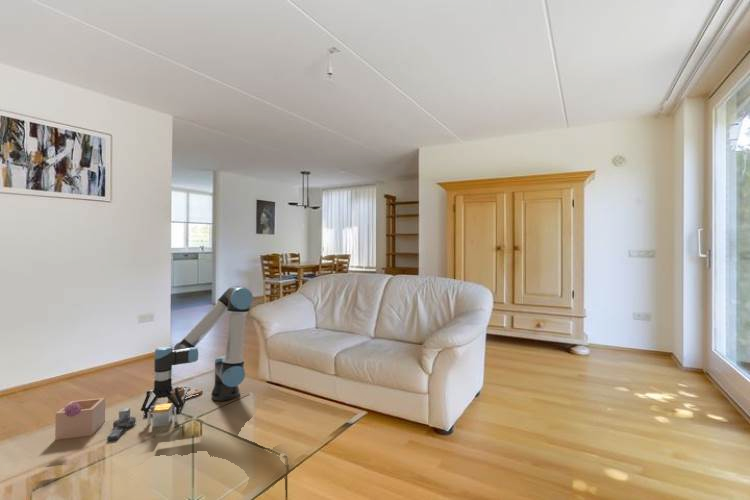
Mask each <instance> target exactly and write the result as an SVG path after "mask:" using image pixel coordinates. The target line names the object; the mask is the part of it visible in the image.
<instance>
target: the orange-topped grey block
mask: <svg viewBox="0 0 750 500" xmlns="http://www.w3.org/2000/svg"><path fill="white" fill-rule="evenodd" d="M172 404H173V403H170V402H168V403H160V404H156V405H155V406H156V407H155V408H154V410H153V414H152V428H156V427H165V426H169V425H170V424H171V422H172V420H173V412H172Z"/></svg>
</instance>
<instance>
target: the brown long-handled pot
mask: <svg viewBox="0 0 750 500" xmlns="http://www.w3.org/2000/svg"><path fill="white" fill-rule="evenodd" d="M178 387H179V393H180V395H181V397H182V395H184V394H185V393H184V391H185V390H184V387H185V386H178ZM194 389H195V391H196V392H194V393H191V394H187V395H186V396H185V398H186V397H188V396H190V395H196V394H201V393H202V394H203V388H194ZM171 394H172V396H173V397H174V398H175V400H176V401H177V402H178V400H177V397H176V395H175V392H174V391H171ZM202 394H201V395H202ZM167 402H168V403H172V402H171V401H170V400H169V399H168V398H167ZM172 404H173V403H172Z"/></svg>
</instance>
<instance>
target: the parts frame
mask: <svg viewBox="0 0 750 500" xmlns="http://www.w3.org/2000/svg"><path fill="white" fill-rule="evenodd" d="M176 387H177V386H176ZM176 387H174V388H176ZM183 387H184V388H186V390H184V393H185V394H184V395H182V397H181V398H182V400H183V402H185V401H184V399H185V396H186V394H187V392H188V390H189V388H190V389H191V385H188V386H183ZM189 391H190V390H189ZM155 396H156V395H155V394H154V393H153V394H152V397H151V398H149V400H148V402H147V405H146V407H145V408H147V407H148V406H149V404H150V403H151V401H152V400H153V399H154V397H155ZM157 399H159V398H158V397H157ZM157 399H156V400H155V402H154V403H153V404H152V406H151V407H150V409H149V410H151V413H153V410H154V408H155V407H156V405H154V404H155V403H156V401H157ZM178 403H179V402H178ZM174 409H175V406H174V405H173V403H172V413H174ZM180 409H182V408H181V407H180ZM180 409H179V410H180ZM180 411H181V410H180ZM144 414H145V411H143V415H144Z"/></svg>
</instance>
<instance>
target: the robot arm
mask: <svg viewBox="0 0 750 500" xmlns="http://www.w3.org/2000/svg"><path fill="white" fill-rule="evenodd" d="M253 302H254V296H253V293H252V291H250V290H249V289H248V288H246V287H244V286H240V285H234V286H233V285H232V286H230V287H229V288H228V289H226V291H224V292H223V293H222V295H221V296H220V297H219V298H218V299H217V301H216V304H215V305H214V306H213V307H212V308H211V309H210V310H209V311H208V312H207V314H205V315H204V317H202V318H201V319H200V320H199V322H198V323H197V324H196V325H195V326H194V327H193V328H192V329H191V330H190V332H188V333H187V334H186V336H184V338H183V339H182V340H181V341H179V342H177V343H176V344H174V347H173V346H172V347H173V348H172V347H171V346H160V347H157V348H156V349H155V350H154V358H153V359H154V363H153V365H154V366H153V367H154V369H153V370H154V375H153V378H154V381H153V382H154V383H153V389H148V390H147V391H146V395H145V396H146V397H145V399H144V401H143V403H142V406H141V408H140V411H141V412H144V411H145V415H144V418H145V419H147V424H146V426H150V425H149V424H151V421H152V419H151V418H152V415H151V410H149V409H150V407H151V406H152V404H153V403H154V402H155V403H156V401H157V400H156V399H162V398H167V400H168V399H169V400H170V401H171V402H172V404H173V405H174V406H175V409H174V412H173V415H174V416H173V417H174V418H173V422H174V423H176V422H178V415H180V411H179V409H180V407H183V406H184V404H185V403H183V400H182V398H181V395H180V393H179V387H180V386H176V388H175V387H173V385H172V379H173V378H172V375H173V374H172V372H173V368H172V366H177V365H184V364H191V363H195V362H198V359H199V349H198V348H197V347H196V346H197V345H198V344H199V343H200V342H201V341H202V339H204V338H205V336H206V335H208V333H209V332H210V331H211V330H212V329H213V328H214V327H215V325H216V324H217V323H218V322H219V321H220V320H222V318H223V317H224V316H225V315H226V314H227V313H229V318H228V319H229V321H228V328H227V336H226V337H227V338H226V340H227V341H226V347H225V355H222V356H218V357H215V359H214V385H213V388H212V390H211V393H210V394H211V396H210V397H211V399H212V400H213V401H220V402H221V401H228V400H232V399H233V400H234V398H237V397H238V396H239V395H240V388H239V385H240V384H241V383H243V381H244V380H245V378H246V371H245V368H244V366H245V359H244V358H243V347H244V338H245V330H246V329H245V328H246V320H247V319H246V318H247V314H248V313H249V312H250V308H251V305H252V304H253ZM171 391H174V392H175V395H176V397H177V400H178V402H179V403H178V402H177V401H176V400H175V398H174V397H173V396H172V394H171ZM154 394H155V395H156V396H155V397H154V399H153V400H152V401H151V403H150V404H149V406H148V407H147V408H145V407H146V405H147V403H148V402H149V401H150V397H151V396H152V395H154ZM157 397H158V398H157ZM155 400H156V401H155ZM155 403H154V404H155ZM154 404H153V405H154Z"/></svg>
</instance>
